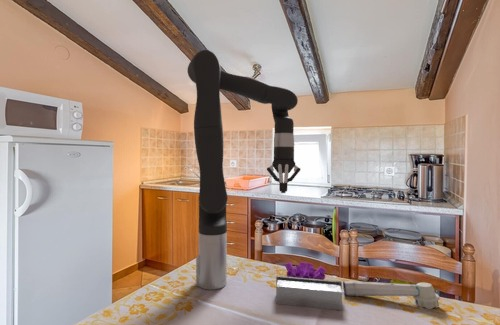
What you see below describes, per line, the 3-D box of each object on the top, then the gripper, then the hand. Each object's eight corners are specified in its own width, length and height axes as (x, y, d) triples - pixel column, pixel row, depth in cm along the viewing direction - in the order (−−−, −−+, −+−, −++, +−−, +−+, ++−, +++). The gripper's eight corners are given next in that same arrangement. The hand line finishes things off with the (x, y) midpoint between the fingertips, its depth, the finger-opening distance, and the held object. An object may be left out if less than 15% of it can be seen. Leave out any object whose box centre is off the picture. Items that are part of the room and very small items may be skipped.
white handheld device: (342, 277, 90) (433, 277, 82) (345, 299, 90) (436, 300, 82) (342, 284, 85) (439, 284, 77) (346, 307, 84) (443, 309, 77)
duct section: (274, 303, 81) (274, 283, 81) (276, 293, 86) (276, 275, 86) (343, 310, 77) (343, 290, 77) (341, 300, 83) (341, 281, 83)
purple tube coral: (308, 285, 100) (325, 265, 99) (310, 307, 85) (330, 283, 84) (283, 264, 102) (299, 244, 101) (280, 282, 87) (299, 258, 86)
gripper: (264, 145, 102) (264, 193, 102) (301, 145, 99) (301, 194, 99) (267, 146, 109) (267, 191, 109) (302, 146, 107) (301, 192, 107)
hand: (283, 192), depth 104 cm, fingers closed
